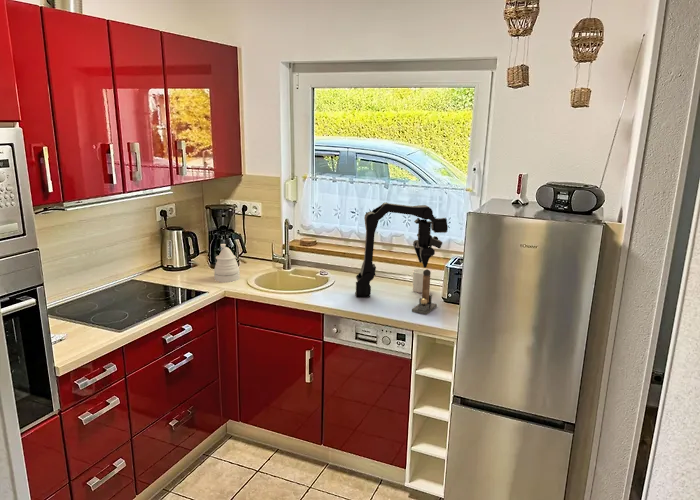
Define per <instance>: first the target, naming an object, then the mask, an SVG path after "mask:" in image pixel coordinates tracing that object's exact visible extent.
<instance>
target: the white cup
mask: <svg viewBox="0 0 700 500" xmlns="http://www.w3.org/2000/svg"><path fill="white" fill-rule="evenodd" d="M424 270H426V269H425V268H414V269H413V270H412V290H413V292H414V293H421V294H422V289H423V275H424V274H423V272H424Z"/></svg>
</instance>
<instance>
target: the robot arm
mask: <svg viewBox="0 0 700 500" xmlns="http://www.w3.org/2000/svg"><path fill="white" fill-rule="evenodd" d="M387 213H394V214H402V215H411V216H414V217H417V218H416V219H415V220H414V223H415V224H418V229H417V230H418V232H417V234H416V236H417V239H415V240H414V241H412V242H413V243H412V246H413V249H414V251H415V254H416V257H417V259H418V262H419V263H422V266H423V269H425V268H427V267H428V264H429V261H430V258H431V257H433V256H434V255H435V249H434V248H433V247H435V248H437V249H441V248H442V245H443V242H442V241H441V239H439V237H438V236H436V235H434V236H432V235H431V234H432V233H431V231H432V232H433V233H435V234H437V233H438V234H439V233H445V234H446V233H448V231H449V229H448V228H449V226H448V221H447V220H448V219H447V218H446V217H442V218H436V217H435V215H434V214H433V213H434V211H433V209H432V208H431V207H430V206H428V205H426V204H422V205H419V204H418V205H407V204H406V205H405V204H397V203H389V202H383V203H382V204H381V205H379V206H378V207H376V208H374V209H372V210H371V211H368V212H366V213H365V214H364V216H363V217H364V227H365V242H364V243H365V245H364V254H363V255H364V257H363V262H362V263H361V269H360V272H359V273H358V274H356V276H355V278H356V281H355V292H354V294H355V298H370V297H371V295H372V294H371V293H372V292H371V291H372V290H371V289H372V285H371V282H372V281H373V280H374V279H375V277H376V275H377V274H376V270H377V266H376V265H375V263H373V257H374V248H375V247H374V245H375V244H374V243H375V234H376V233H375V232H376V231H377V228H378V224H379V221H380V220H381V219H383V217H384V216H386V214H387ZM427 220H428V221H427Z"/></svg>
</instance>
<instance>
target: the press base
mask: <svg viewBox="0 0 700 500" xmlns="http://www.w3.org/2000/svg"><path fill="white" fill-rule="evenodd" d="M432 295H433V294H429V302H428V303H427V299H425V298H422V297H420V298H419V299H418V300H419V301H418V304H417V305H415V306H414V307H412V309H411V312H412V313H417V314H422V315H428V314H430V313H431V312H432V311H433V310H435V309H436V308H437V307H438V304H437V303H435V302H434V303H433V302H432V301H433V300H432V299H433V298H432V297H433V296H432Z"/></svg>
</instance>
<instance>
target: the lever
mask: <svg viewBox="0 0 700 500" xmlns="http://www.w3.org/2000/svg"><path fill="white" fill-rule="evenodd" d="M423 274H424V275H423V289H422V293H421V298H425V299H427V303H428V302H429V295H430V291H431V289H430V287H431V275H432V273H431V270H430V269H428V268H427V269H425V270H424V272H423Z"/></svg>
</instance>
